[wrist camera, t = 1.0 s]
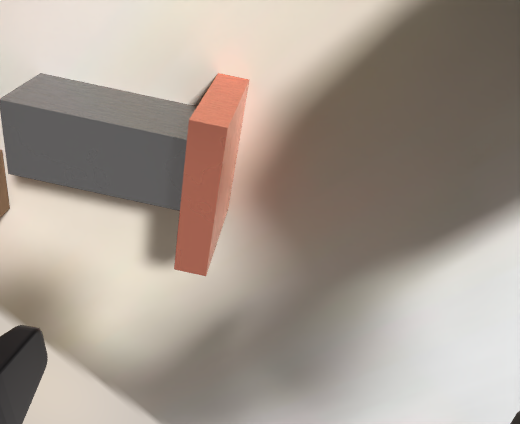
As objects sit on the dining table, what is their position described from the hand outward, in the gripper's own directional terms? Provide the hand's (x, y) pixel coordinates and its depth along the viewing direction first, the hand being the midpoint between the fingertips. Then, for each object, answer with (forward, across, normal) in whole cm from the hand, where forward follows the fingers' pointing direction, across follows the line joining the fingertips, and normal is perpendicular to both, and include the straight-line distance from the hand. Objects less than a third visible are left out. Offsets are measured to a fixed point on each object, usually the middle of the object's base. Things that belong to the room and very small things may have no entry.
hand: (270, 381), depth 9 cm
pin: (+12, +7, +1) cm, 14 cm away
